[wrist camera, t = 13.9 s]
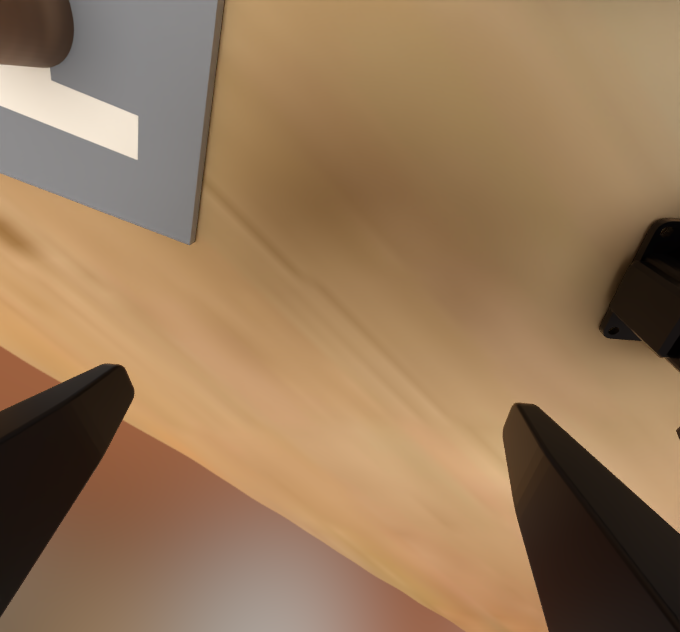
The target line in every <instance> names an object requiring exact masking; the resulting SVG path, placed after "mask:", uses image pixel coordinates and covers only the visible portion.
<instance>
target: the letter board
mask: <svg viewBox="0 0 680 632" xmlns="http://www.w3.org/2000/svg"><path fill="white" fill-rule="evenodd" d="M69 3H70V6H71V11H72V16H73V24H74V35H73V42H72V46H71V49H70V52H69V53H68V55H67V57H66V58H65V59H64V60H63V61H62V62H61V63H60V64H58V65H56V66H54V67H50V68H37V67H25V66H13V65H1V64H0V173H1V174H4V175H7V176H9V177H12V178H14V179H17V180H20V181H22V182H25V183H28V184H30V185H33V186H35V187H38V188H41V189H43V190H46V191H49V192H51V193H54V194H56V195H59V196H62V197H64V198H67V199H70V200H72V201H75V202H77V203H80V204H83V205H85V206H88V207H91V208H93V209H96V210H98V211H101V212H104V213H106V214H109V215H112V216H114V217H117V218H119V219H122V220H125V221H127V222H130V223H133V224H135V225H138V226H140V227H143V228H146V229H148V230H151V231H154V232H156V233H159V234H161V235H164V236H167V237H169V238H172V239H175V240H177V241H180V242H182V243H185V244H188V245H191V244H192V243H193V242H195V236H196V228H197V220H198V212H199V204H200V196H201V187H202V179H203V171H204V163H205V155H206V147H207V139H208V130H209V122H210V114H211V106H212V98H213V90H214V82H215V73H216V65H217V57H218V49H219V41H220V33H221V25H222V16H223V8H224V0H69Z"/></svg>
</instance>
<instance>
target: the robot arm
mask: <svg viewBox="0 0 680 632" xmlns="http://www.w3.org/2000/svg"><path fill="white" fill-rule="evenodd" d="M666 227H668V229H667V230H666V232H664V233H663V234H660V233H661V231H662V230H663V229H664V228H666ZM609 307H610V308H609V310H608V312H607V314H606V316H605V317H604V319H603V321H602V323H601V325H600V332H601V333H602V334H603V335H604V336H605V337H606V338H611V339H624V340H637V341H643V342H644V343H645V344H646V345H647V346H648V347H649V348H650V349H651V350H652V351H653V352H654V353H655V354H656V355H657V356H659V357H661V358H665V359H666V360H667V361H668V362H669V363H670V364H671V365H673V366H674V367H675V368H676V369H677V370H678V371H679V372H680V219H668V218H666V219H661V220H659V221H657V222H655V223H654V224H653V225H652V226H651V227H650V229H649V231H648V233H647V235H646V237H645V239H644V241H643V243H642V245H641V247H640V248H639V250H638V252H637V254H636V256H635V258H634V260H633V262H632V264H631V265H630V266H629V268H628V270H627V272H626V274H625V276H624V278H623V280H622V282H621V284H620V286H619V288H618V290H617V292H616V294H615V296H614V298H613V300H612V302H611V304H610V306H609ZM613 327H615V328H614V329H612V330H610V329H611V328H613ZM133 398H134V388H133V385H132V383H131V381H130V378H129V376H128V374H127V371H126V369H125V368H124V367H123V366H122V365H118V364H102V365H99V366H97V367H95V368H93V369H91V370H89V371H86V372H84V373H82V374H80V375H78V376H76V377H73V378H71V379H69V380H67V381H65V382H63V383H60V384H58V385H56V386H54V387H52V388H50V389H48V390H46V391H43V392H41V393H39V394H37V395H35V396H33V397H30V398H28V399H26V400H24V401H22V402H19V403H17V404H15V405H13V406H11V407H9V408H7V409H4V410H2V411H0V617H1V616H2V614H3V613H4V611H5V610H6V608H7V606H8V605H9V603H10V602H11V600H12V599H13V597H14V596H15V594H16V592H17V591H18V589H19V588H20V586H21V585H22V583H23V582H24V580H25V578H26V577H27V575H28V574H29V572H30V571H31V569H32V567H33V566H34V564H35V563H36V561H37V560H38V558H39V557H40V555H41V553H42V552H43V550H44V549H45V547H46V545H47V544H48V542H49V541H50V539H51V538H52V536H53V535H54V533H55V531H56V530H57V528H58V527H59V525H60V523H61V522H62V521H63V519H64V517H65V516H66V514H67V513H68V511H69V510H70V508H71V507H72V505H73V503H74V502H75V500H76V499H77V497H78V495H79V494H80V492H81V491H82V489H83V488H84V486H85V485H86V483H87V482H88V480H89V478H90V477H91V475H92V474H93V472H94V471H95V469H96V467H97V466H98V464H99V463H100V461H101V459H102V458H103V456H104V454H105V452H106V450H107V448H108V447H109V445H110V443H111V441H112V439H113V437H114V435H115V433H116V431H117V429H118V427H119V425H120V423H121V422H122V420H123V418H124V416H125V414H126V412H127V410H128V408H129V406H130V404H131V402H132V400H133ZM676 432H677V434H678V437H679V439H680V427H679V428H678V429H677V430H676ZM503 442H504V448H505V454H506V460H507V466H508V472H509V478H510V484H511V490H512V496H513V502H514V507H515V511H516V515H517V519H518V523H519V527H520V530H521V534H522V537H523V541H524V545H525V548H526V552H527V555H528V559H529V562H530V566H531V570H532V573H533V577H534V580H535V584H536V587H537V591H538V595H539V598H540V602H541V605H542V609H543V612H544V616H545V620H546V623H547V627H548V630H549V632H680V534H679V533H678V532H677V531H676V530H675V529H673V528H672V527H671V526H670V525H669V524H668V523H667V522H666V521H665V520H663V519H662V518H661V517H660V516H659V515H658V514H657V513H656V512H655V511H653V510H652V509H651V508H650V507H649V506H648V505H647V504H646V503H645V502H643V501H642V500H641V499H640V498H639V497H638V496H637V495H636V494H635V493H633V492H632V491H631V490H630V489H629V488H628V487H627V486H626V485H625V484H623V483H622V482H621V481H620V480H619V479H618V478H617V477H616V476H615V475H613V474H612V473H611V472H610V471H609V470H608V469H607V468H606V467H605V466H603V465H602V464H601V463H600V462H599V461H598V460H597V459H596V458H595V457H593V456H592V455H591V454H590V453H589V452H588V451H587V450H586V449H585V448H583V447H582V446H581V445H580V444H579V443H578V442H577V441H576V440H575V439H573V438H572V437H571V436H570V435H569V434H568V433H567V432H566V431H565V430H563V429H562V428H561V427H560V426H559V425H558V424H557V423H556V422H555V421H553V420H552V419H551V418H550V417H549V416H548V415H547V414H546V413H545V412H543V411H542V410H541V409H540V408H539V407H538V406H536V405H534V404H527V403H515V404H513V406H512V407H511V410H510V412H509V415H508V417H507V420H506V422H505V425H504V428H503Z"/></svg>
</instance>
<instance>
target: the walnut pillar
mask: <svg viewBox="0 0 680 632" xmlns="http://www.w3.org/2000/svg"><path fill="white" fill-rule="evenodd" d="M73 35H74V24H73V16H72V11H71V6H70V3H69V0H0V64H1V65H13V66H25V67H37V68H50V67H54V66H56V65H58V64H60V63H61V62H62V61H63V60H64V59H65V58H66V57H67V55H68V53H69V52H70V49H71V46H72V42H73Z"/></svg>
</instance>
